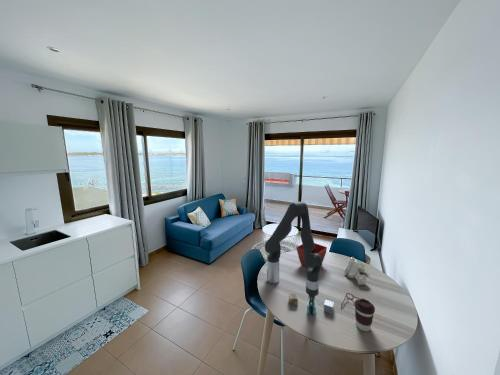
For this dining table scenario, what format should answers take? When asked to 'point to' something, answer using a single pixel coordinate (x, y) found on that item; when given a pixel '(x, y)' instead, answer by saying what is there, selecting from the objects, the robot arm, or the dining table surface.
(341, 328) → the dining table surface
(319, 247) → the plant pot
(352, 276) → the chinaware
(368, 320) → the coffee cup
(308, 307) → the teal block
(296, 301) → the walnut block
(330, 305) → the slate gray block
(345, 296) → the glasses
